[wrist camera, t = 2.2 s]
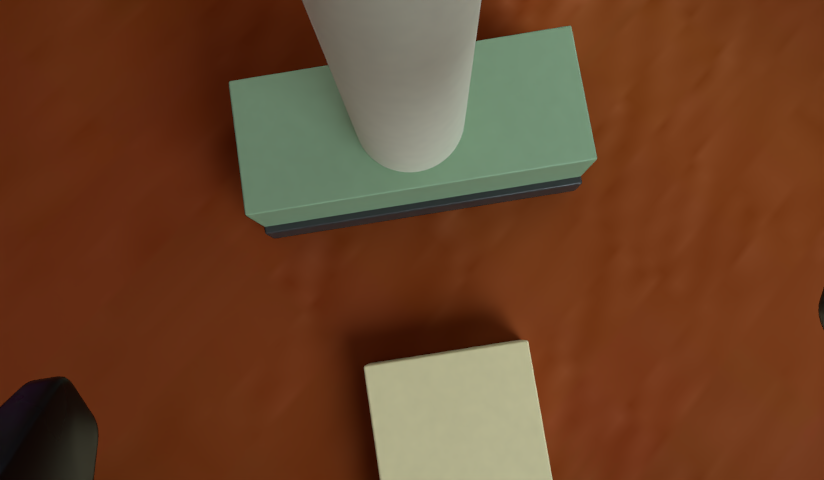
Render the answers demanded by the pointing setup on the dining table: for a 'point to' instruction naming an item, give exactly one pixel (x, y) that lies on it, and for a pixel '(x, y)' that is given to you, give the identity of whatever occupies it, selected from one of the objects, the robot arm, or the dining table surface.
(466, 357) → the pale yellow square block
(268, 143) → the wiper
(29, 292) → the dining table surface
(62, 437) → the robot arm
